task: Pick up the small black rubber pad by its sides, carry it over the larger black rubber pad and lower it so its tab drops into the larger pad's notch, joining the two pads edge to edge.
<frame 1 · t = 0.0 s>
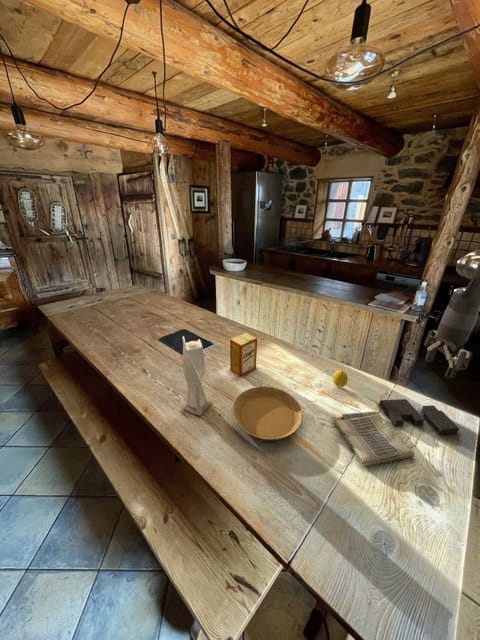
hand: (438, 368, 85), 21 cm above the table, tool pointing down, fingers open, 8 cm apart
baking soda box: (243, 369, 119), on the table
skyscraper: (196, 405, 98), on the table
dish towel: (369, 438, 86), on the table
notch pad: (399, 414, 95), on the table
plant saucer: (266, 416, 94), on the table
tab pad: (439, 424, 91), on the table
lemon: (338, 387, 109), on the table
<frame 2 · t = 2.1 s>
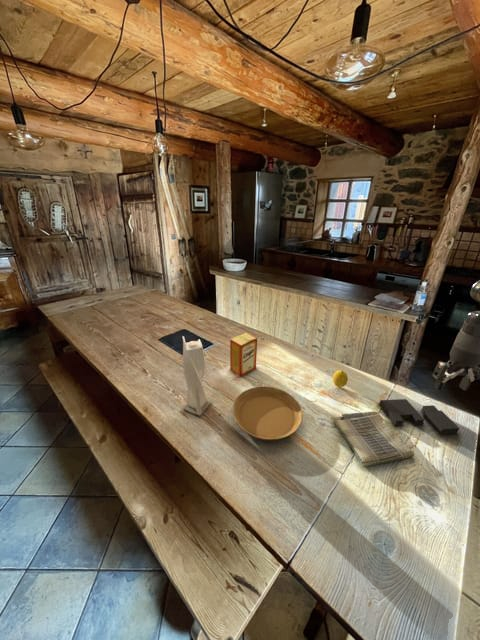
hand: (450, 389, 86), 15 cm above the table, tool pointing down, fingers open, 8 cm apart
nothing on the table moved.
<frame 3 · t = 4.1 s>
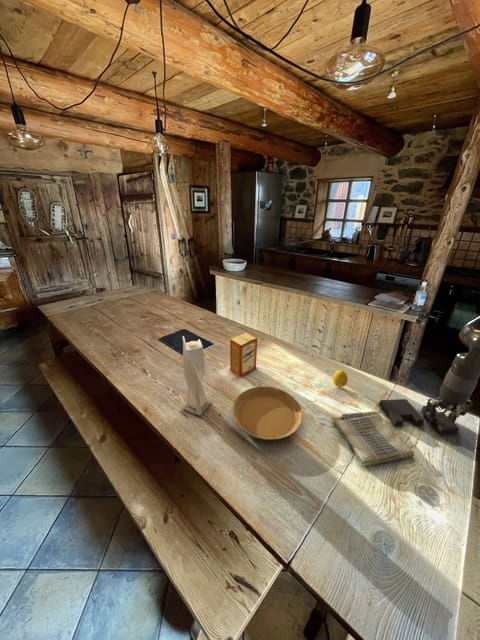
hand: (440, 423, 91), 1 cm above the table, tool pointing down, fingers closed on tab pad, 6 cm apart
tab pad: (439, 424, 91), on the table, touching gripper
everything else where it was.
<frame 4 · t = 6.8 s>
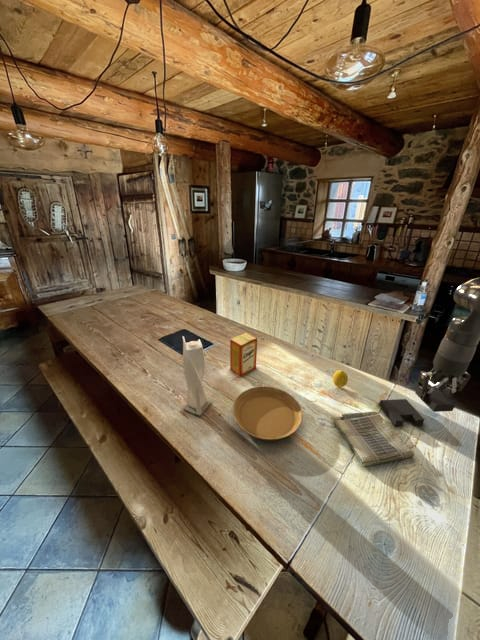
hand: (433, 400, 81), 15 cm above the table, tool pointing down, fingers closed on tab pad, 6 cm apart
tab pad: (432, 401, 81), point 14 cm above the table, touching gripper
everything else where it was.
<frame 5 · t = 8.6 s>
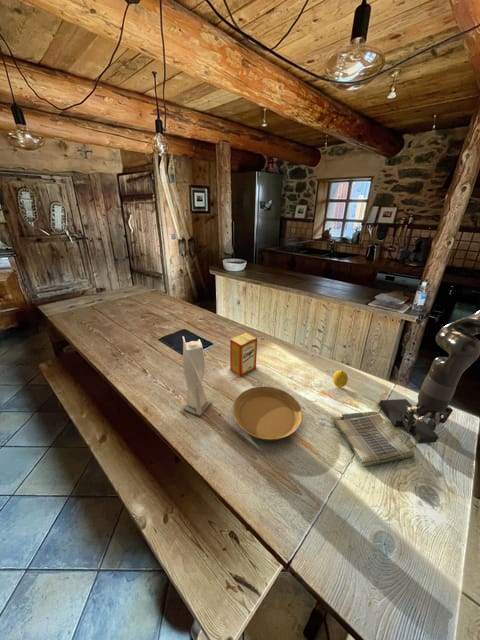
hand: (419, 431, 86), 2 cm above the table, tool pointing down, fingers closed on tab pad, 6 cm apart
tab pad: (418, 432, 86), point 2 cm above the table, touching gripper
everything else where it was.
when the fingers open (1 cm above the table, at t = 9.7 s): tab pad stays where it is, on the table.
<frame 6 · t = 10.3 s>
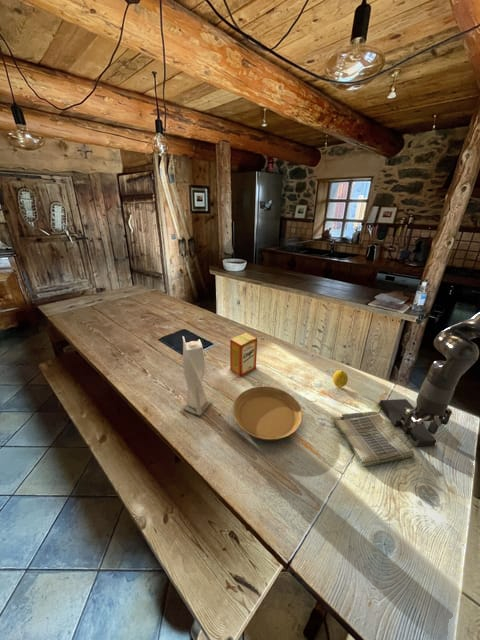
hand: (418, 432, 86), 1 cm above the table, tool pointing down, fingers open, 8 cm apart
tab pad: (416, 436, 87), on the table
everything else where it was.
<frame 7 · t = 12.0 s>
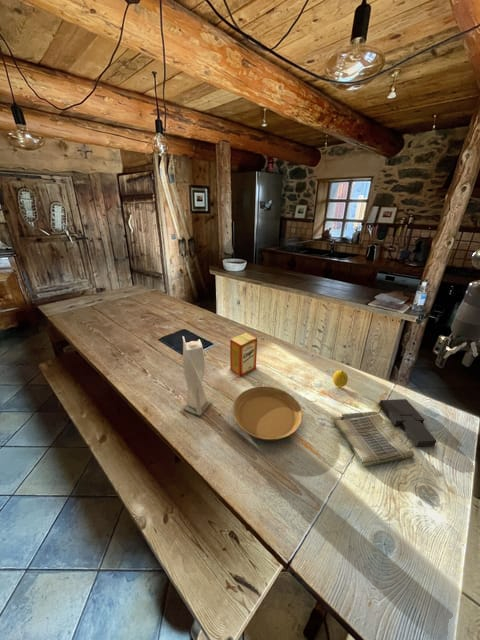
hand: (452, 365, 82), 24 cm above the table, tool pointing down, fingers open, 8 cm apart
nothing on the table moved.
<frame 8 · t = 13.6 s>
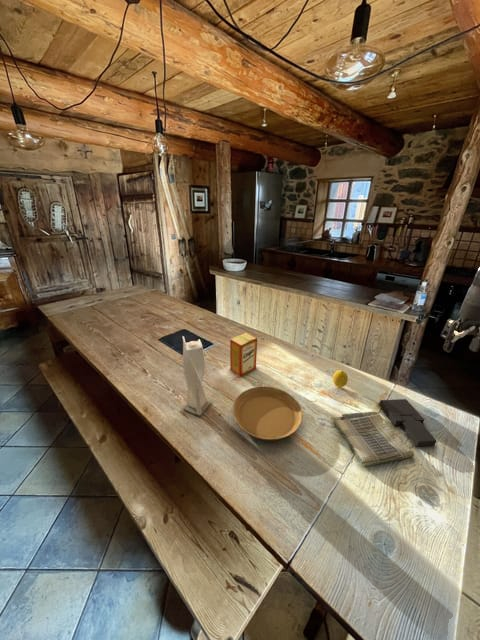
hand: (459, 350, 82), 28 cm above the table, tool pointing down, fingers open, 8 cm apart
nothing on the table moved.
at the end: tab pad 0.1 cm from the target spot on the table beside the notch pad, on the table; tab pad tilted 0°; the gripper is holding nothing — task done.
